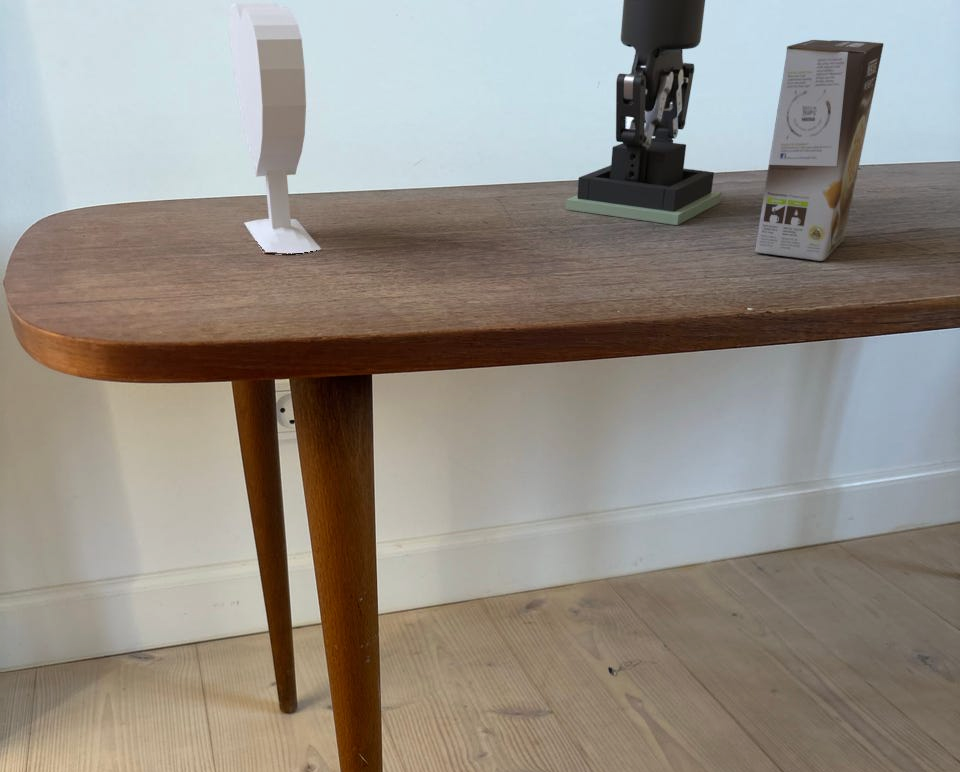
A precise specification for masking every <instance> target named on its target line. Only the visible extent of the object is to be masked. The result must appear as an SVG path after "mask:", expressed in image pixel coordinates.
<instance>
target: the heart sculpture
mask: <svg viewBox="0 0 960 772" xmlns="http://www.w3.org/2000/svg"><path fill="white" fill-rule="evenodd" d="M229 9H230V10H229V14H228V30H229V40H230V51H231V52H230V53H231V60H232V66H233V67H232V69H233V75H234V84H235V88H236V94H237V101H238V108H239V112H240V117H241V122H242V126H243V131H244V135H245V139H246V143H247V148H248V150H249V154H250V158H251V162H252V166H253V170H254V174H255V177H264V181H265V190H266V201H267V212H268V218H263V219H262V218H261V219H255V220H251V221H246V222H245V221H244V222H243V224H244V225H245V227H246V228H247V230H248V232H249V233H250V235H251V236H252V238H253V239H254V240H255V242H256V241H257V242H258V243H257V242H256V243H257V245H258V244H259V245H260V246H261V247H262V249H264V250H265V252H277V253H287V254H288V253H291V254H292V253H303V254H305V253H304V252H308V253H311V252H310V251H313V252H317V251H320V250H322V248H321V247H320V245H319V244H318V243H317V242H316V241H315V240H314V239H313V236H311V235H310V234H309V233H308V231H307V230H306V229H305V228H304V226H303V225H302V224H301V223H300V222H299V220H297V219H295V218H291V208H290V196H289V194H290V193H289V184H288V176H295V175H296V174H297V169H298V165H299V163H300V160H301V156H302V152H303V148H304V147H303V146H304V142H305V141H304V140H305V135H306V115H307V96H306V94H307V93H306V71H305V59H304V58H305V57H304V50H303V49H304V48H303V38H302V35H301V31H300V26H299V24H298V21H297V19H296V17H295V14H294V13H293V12H292V10H291V8H289V7H288V6H287V7H286V6H284V7H283V6H282V7H281V6H280V5H279V4H278V3H275V2H273V3H272V2H271V3H267V2H265V3H261V2H260V3H259V2H254V3H253V2H251V3H248V2H247V3H246V2H245V3H242V2H241V3H239V2H238V3H236V2H235V3H232V4H231V6H230V8H229ZM259 245H258V246H259ZM260 246H259V247H260ZM262 249H261V250H262ZM316 250H317V251H316Z"/></svg>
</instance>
